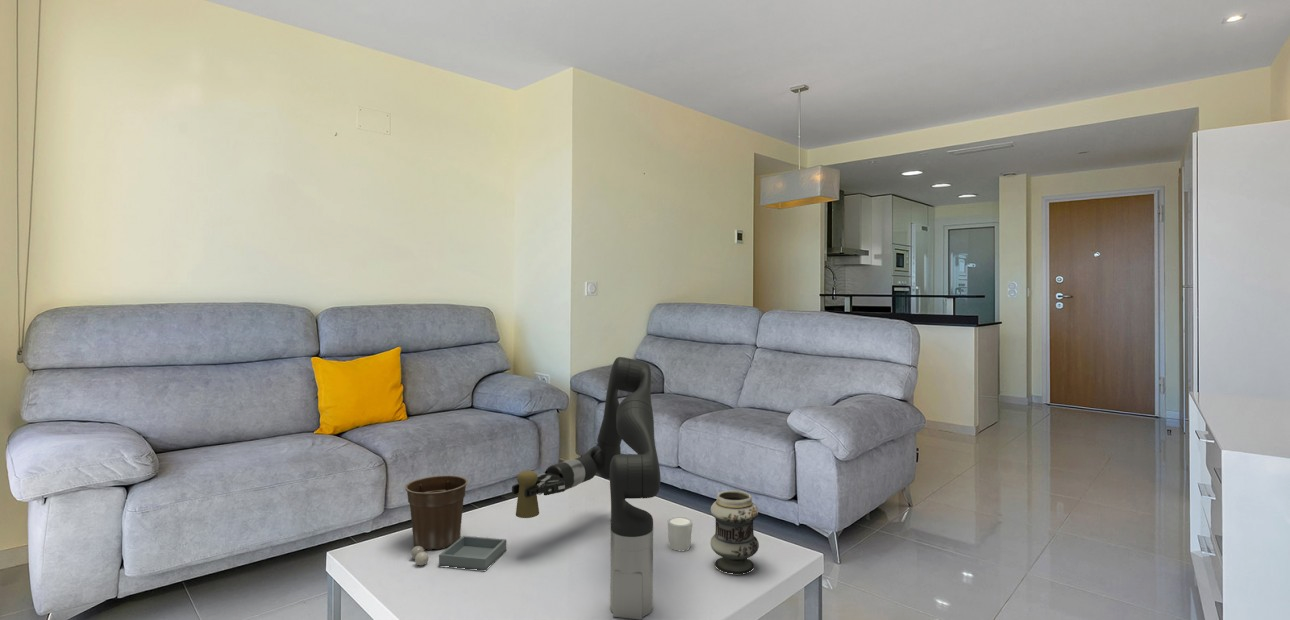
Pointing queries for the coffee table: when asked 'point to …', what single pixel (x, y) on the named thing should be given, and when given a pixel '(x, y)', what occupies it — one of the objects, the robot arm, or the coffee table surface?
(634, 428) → the robot arm
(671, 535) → the white cup
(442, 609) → the coffee table surface
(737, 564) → the apothecary jar
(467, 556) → the slate dish
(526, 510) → the cork
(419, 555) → the pebble
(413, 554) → the pebble
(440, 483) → the plant pot
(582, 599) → the coffee table surface
